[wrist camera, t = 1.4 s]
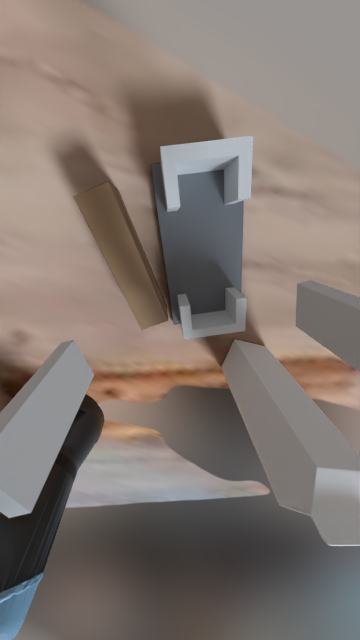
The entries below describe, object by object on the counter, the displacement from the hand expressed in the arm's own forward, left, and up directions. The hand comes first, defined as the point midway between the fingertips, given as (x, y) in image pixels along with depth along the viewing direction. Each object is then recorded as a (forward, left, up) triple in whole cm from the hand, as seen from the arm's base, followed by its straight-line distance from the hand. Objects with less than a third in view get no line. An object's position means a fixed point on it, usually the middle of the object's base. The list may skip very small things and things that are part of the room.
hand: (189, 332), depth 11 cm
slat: (-5, +2, -17) cm, 18 cm away
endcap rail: (+4, +2, -16) cm, 17 cm away
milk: (+10, -16, -17) cm, 25 cm away
